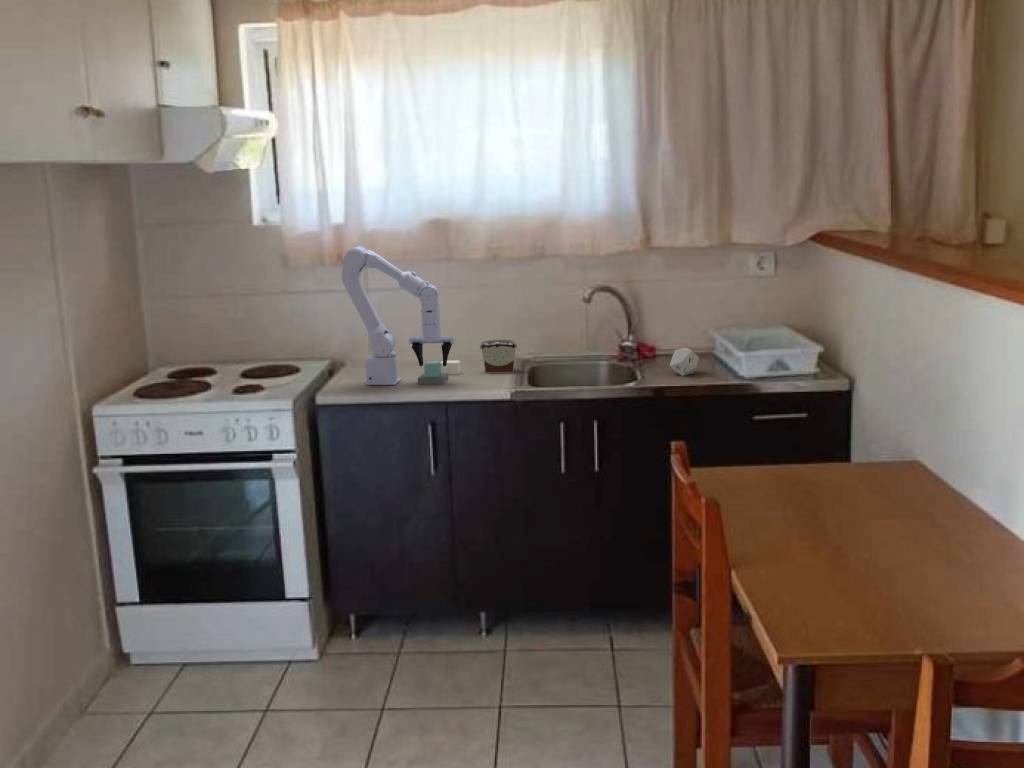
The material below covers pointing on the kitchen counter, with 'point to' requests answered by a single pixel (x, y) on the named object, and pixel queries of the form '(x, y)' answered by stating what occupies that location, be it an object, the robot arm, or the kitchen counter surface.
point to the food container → (498, 355)
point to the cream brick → (451, 367)
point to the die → (684, 361)
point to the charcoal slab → (433, 379)
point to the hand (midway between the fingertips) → (433, 365)
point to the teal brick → (432, 368)
